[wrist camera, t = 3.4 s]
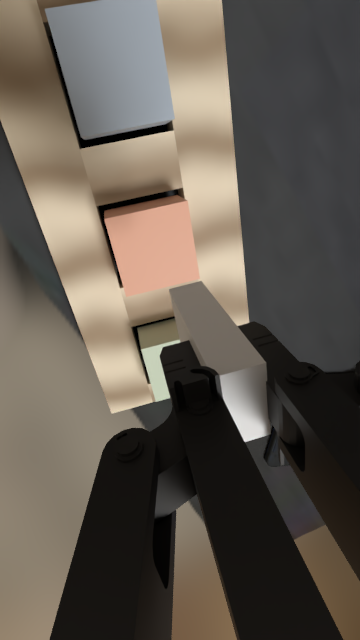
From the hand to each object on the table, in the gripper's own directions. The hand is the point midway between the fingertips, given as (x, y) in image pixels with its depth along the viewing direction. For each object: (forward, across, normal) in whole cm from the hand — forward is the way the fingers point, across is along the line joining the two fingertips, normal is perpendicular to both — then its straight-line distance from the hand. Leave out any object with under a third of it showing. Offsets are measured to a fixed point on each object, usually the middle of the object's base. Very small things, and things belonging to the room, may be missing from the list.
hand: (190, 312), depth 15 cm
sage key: (+15, 0, -11) cm, 18 cm away
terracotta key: (+15, 0, 0) cm, 15 cm away
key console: (+17, 0, 0) cm, 17 cm away
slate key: (+15, 0, +11) cm, 18 cm away
